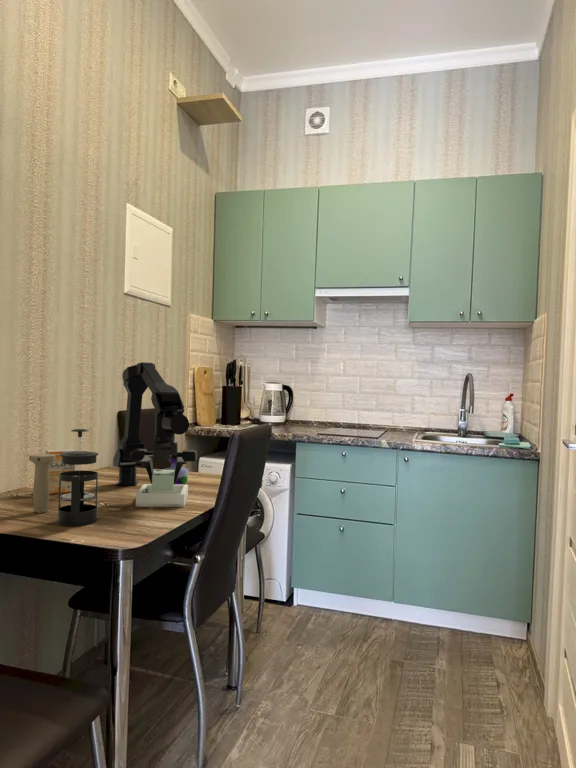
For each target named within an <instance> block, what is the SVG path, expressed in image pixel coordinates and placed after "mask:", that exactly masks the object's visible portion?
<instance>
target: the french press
mask: <svg viewBox="0 0 576 768" xmlns="http://www.w3.org/2000/svg"><path fill="white" fill-rule="evenodd" d="M70 431H71V432H72V433H73V432H75V433H77V438H78V450H75V451H73V452H66V453H61V454H60V456H62V463H63V464H68V465H75V466H77V469H78V470H75V471H67V472H62V473H60V475H59V493H58V511H57V512H58V513H57V514H58V517H57V518H58V519H57V521H56V523H57V525H59V524H60V526H63V525H64V526H65V527H82V525H84V526H88V524H89V525H92V523H93V524H95V523H97V522H98V517H97V516H98V515H97V512H98V486H99V485H98V483H99V479H98V477H99V473H98V472H97V471H94V470H81V466H82V465H93V464H96V463H97V456H99V453H98V452H95V451H87V450H81V442H82V441H81V439H82V438H83V432H84V433H87V432H89V431H90V430H89V429H85V428H75V429H71V430H70ZM61 481H66V482H72V485H71V492H67V493H63V494H62V493H61ZM91 481H95V482H96V484H95V493H93V492H86V491H85V482H91ZM94 499H95V505H94V504H88V503H84V502H86V501H91V500H94ZM62 501H65V502H70V504H67V505H64V506H61V503H62ZM64 526H63V527H64Z"/></svg>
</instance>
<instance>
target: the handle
mask: <svg viewBox="0 0 576 768" xmlns="http://www.w3.org/2000/svg"><path fill="white" fill-rule="evenodd" d="M55 458H56V455H53V454H46V453H38V454H37V453H35V454H30V455H29V454H28V461H29V462H31V463H33V464H34V476H33V477H34V478H33V488H32V489H33V491H32V497H33V500H32V501H33V503H32V504H33V512H34V513H35V512H37V514H42V513H44V512H45V513H47V512H48V510H49V506H48V505H49V502H50V495H51V494H50V490H49V489H50V485H49V464H50V463H51V462H53V461H54V460H55ZM46 511H47V512H46Z"/></svg>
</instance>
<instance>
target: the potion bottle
mask: <svg viewBox="0 0 576 768" xmlns="http://www.w3.org/2000/svg"><path fill="white" fill-rule="evenodd" d="M168 462H169V463H171V465H170V466H169V467H166V468H163V469H162V470H174V475H175V469H176V462H177V458H170V459H169V460H168ZM189 471H190V470H189V469H188V468H187V467H183V466H182V467H181V470H180V472H179V475H178V478H177V481H176V484H175V485H186V484H187V482H188V475H189Z"/></svg>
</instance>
